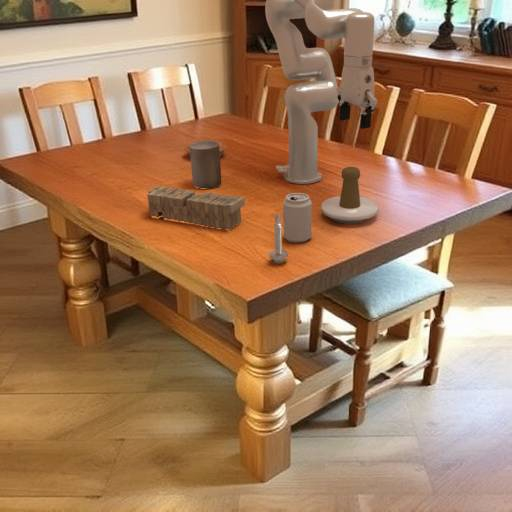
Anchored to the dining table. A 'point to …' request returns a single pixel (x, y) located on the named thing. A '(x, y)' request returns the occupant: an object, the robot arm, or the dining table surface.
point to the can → (297, 217)
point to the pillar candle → (205, 164)
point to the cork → (350, 188)
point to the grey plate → (349, 210)
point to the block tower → (196, 207)
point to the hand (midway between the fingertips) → (354, 123)
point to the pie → (221, 146)
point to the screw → (278, 243)
